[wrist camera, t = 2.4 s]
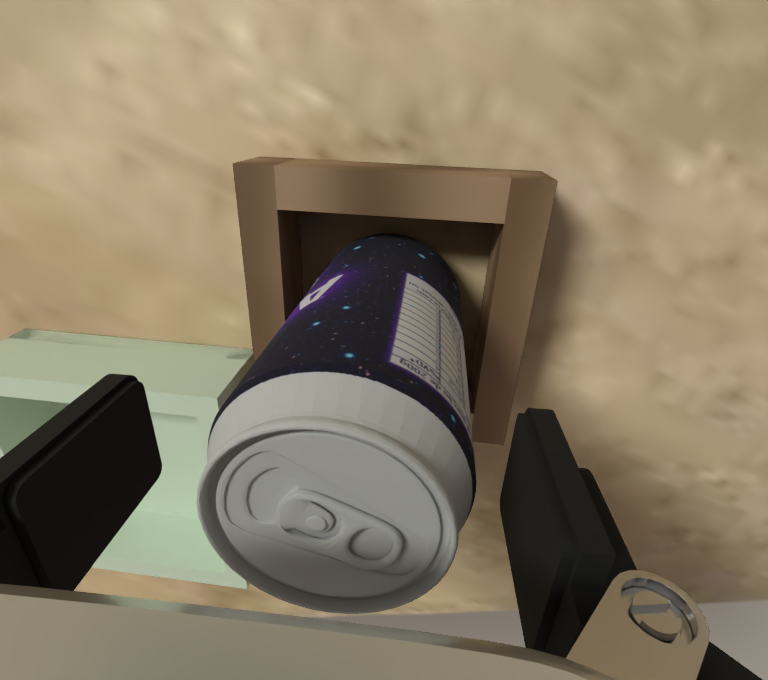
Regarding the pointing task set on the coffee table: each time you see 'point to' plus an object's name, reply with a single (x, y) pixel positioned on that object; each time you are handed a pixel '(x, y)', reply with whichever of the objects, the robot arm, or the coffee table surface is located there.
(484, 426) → the socket block
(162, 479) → the tray
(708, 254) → the coffee table surface
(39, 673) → the robot arm
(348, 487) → the beverage can
